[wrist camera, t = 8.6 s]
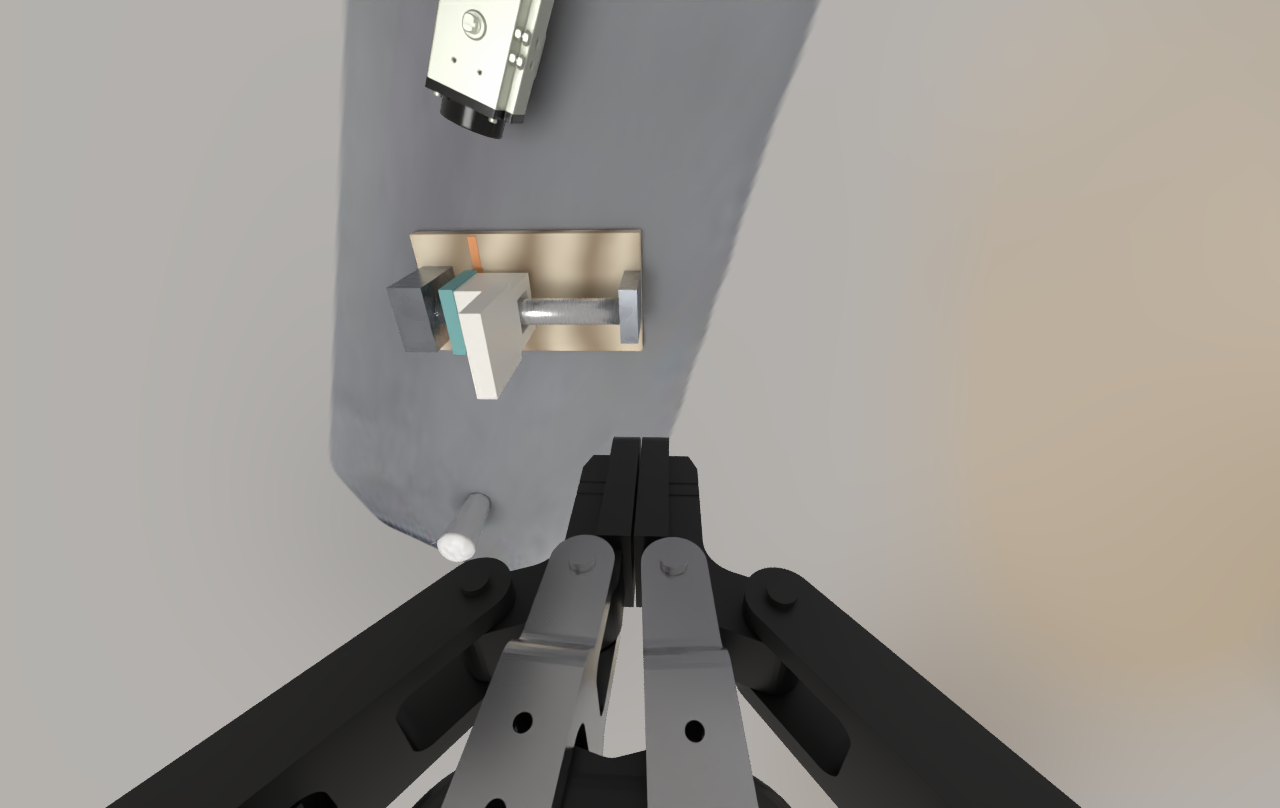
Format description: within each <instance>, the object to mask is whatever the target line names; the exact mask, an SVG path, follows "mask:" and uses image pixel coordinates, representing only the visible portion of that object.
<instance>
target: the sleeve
mask: <svg viewBox="0 0 1280 808" xmlns="http://www.w3.org/2000/svg"><path fill="white" fill-rule="evenodd" d="M453 293H454V297H455V301H456V306H457V310H458V315H459V320H460V324H461V329H462V333H463V337H464V342H465V346H466V351H467V355H468V359H469V364H470V368H471V373H472V377H473V381H474V386H475V390H476V394H477V399H498V398H499V396H500V394H501V393H502V391H503V389H504V388H505V386H506V385H507V383H508V381H509V380H510V378H511V376H512V375H513V373H514V371H515V370H516V368H517V367H518V365H519V363H520V362H521V360H522V355H521V351H522V350H523V348H524V346H525V345H526V343H527V342H528V340H529V339H530V337H531V335H532V334H533V332H534V331H535V329H536V325H521V322H520V315H519V309H518V303H517V300H518V299H519V298H532V297H531V290H530V283H529V276H528V273H476V274H474V275H473V276H472V277H471V278H469V279H468V280H467V281H466V282H464V283H463V284H462V285H461V286H459V287H458V288H457V289H456V290H454V291H453Z"/></svg>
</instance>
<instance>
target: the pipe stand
mask: <svg viewBox="0 0 1280 808" xmlns="http://www.w3.org/2000/svg"><path fill="white" fill-rule="evenodd" d="M410 238H411V242H412V246H413V250H414V254H415V257H416V261H417V265H418V270H416V271H414V272H413V273H411V274H409V275H408V276H406V277H404V278H403V279H401V280H399V281H398V282H396V283H394V284H393V285H391V286H389V287H388V288H387V292H388V295H389V298H390V302H391V305H392V308H393V312H394V315H395V318H396V322H397V325H398V328H399V332H400V335H401V338H402V342H403V345H404V348H405V352H438V351H439V350H452V346H451V341H450V337H449V333H448V329H447V325H446V321H445V317H444V313H443V309H442V305H441V300H440V296H439V292H438V290H439V289H440V288H441V287H443V286H444V285H445V284H447V283H448V282H449V281H451V280H452V279H453V278H455V277H456V276H457V275H459V274H460V273H461V272H463V271H464V270H477V273H528V276H529V283H530V290H531V297H532V298H519V299H518V300H517V303H518V309H519V315H520V322H521V325H536V329H535V331H534V332H533V334H532V335H531V337H530V339H529V340H528V342H527V343H526V345H525V346H524V348H523V350H554V351H642V348H643V325H642V268H641V229H634V230H525V231H417V232H415V233H412V234H410Z"/></svg>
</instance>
